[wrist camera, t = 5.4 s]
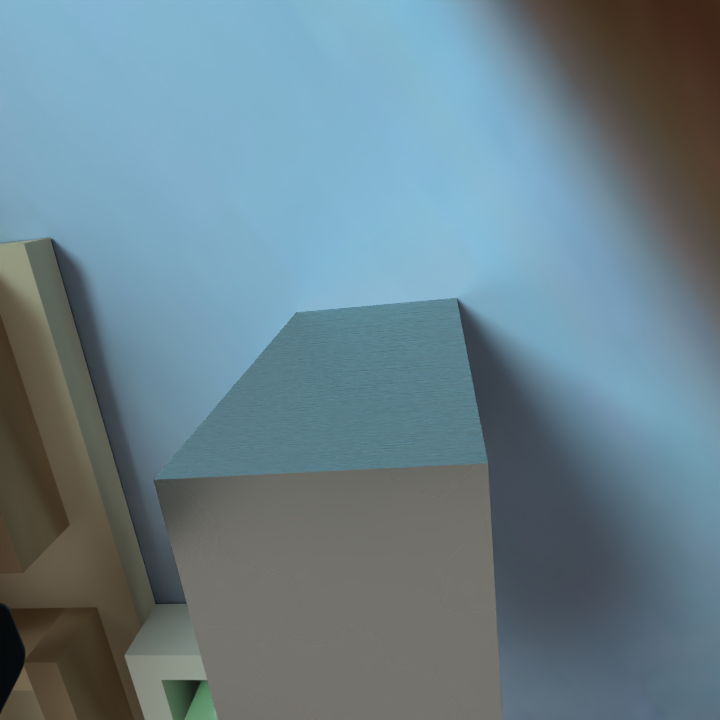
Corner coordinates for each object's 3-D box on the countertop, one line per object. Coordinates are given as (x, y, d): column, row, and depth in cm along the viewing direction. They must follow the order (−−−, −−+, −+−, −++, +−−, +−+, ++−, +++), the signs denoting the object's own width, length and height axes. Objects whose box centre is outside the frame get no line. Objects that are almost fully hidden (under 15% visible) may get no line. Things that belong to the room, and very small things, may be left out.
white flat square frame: (341, 601, 17) (331, 655, 15) (364, 746, 19) (358, 810, 17) (155, 604, 18) (124, 655, 16) (195, 742, 20) (171, 802, 18)
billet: (456, 297, 14) (488, 463, 6) (466, 445, 15) (502, 727, 8) (296, 312, 15) (154, 479, 7) (318, 453, 16) (218, 722, 8)
